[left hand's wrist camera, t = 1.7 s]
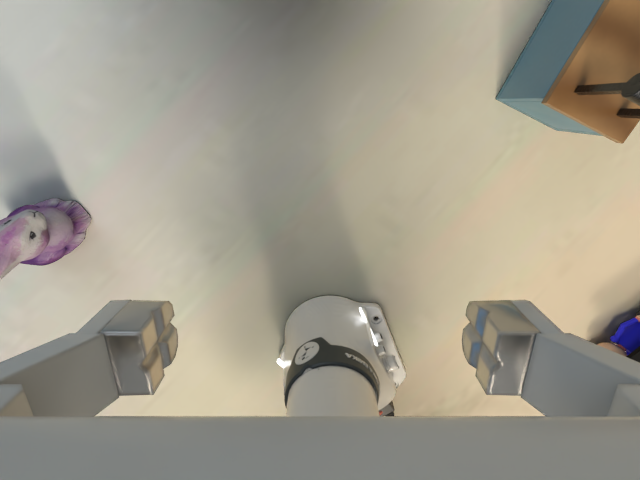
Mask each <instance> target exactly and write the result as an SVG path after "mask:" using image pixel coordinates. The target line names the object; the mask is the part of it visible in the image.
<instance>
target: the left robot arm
mask: <svg viewBox="0 0 640 480" xmlns="http://www.w3.org/2000/svg"><path fill="white" fill-rule="evenodd" d="M375 316H378V318H374V317H375ZM173 317H174V310H173V306H172V304H171V303H170V302H169V301H148V300H133V301H132V300H114V301H110V302H109V303H108V304H107V305H106V306H105V307H104V308H102V309H101V310H100V311H99V312H98V313H97V314H96V315H95V316H94V317H93V318H92V319H91V320H90V321H89V322H87V323H86V324H85V325H84V326H83V327H82V328H81V329H80V330H79V331H78V332H77V333H69V334H67V335H65V336H62V337H60V338H58V339H55V340H53V341H50V342H48V343H46V344H43V345H41V346H39V347H36V348H34V349H31V350H29V351H27V352H24V353H22V354H20V355H17V356H15V357H12V358H10V359H8V360H5V361H3V362H0V480H640V363H639V362H637V361H635V360H632V359H630V358H627V357H625V356H623V355H620V354H618V353H616V352H613V351H611V350H608V349H606V348H604V347H601V346H599V345H597V344H594V343H592V342H590V341H587V340H585V339H582V338H580V337H578V336H575V335H573V334H571V333H563V332H562V331H561V330H560V329H559V328H558V327H557V326H556V325H555V324H554V323H553V322H552V321H550V320H549V319H548V318H547V317H546V316H545V315H544V314H543V313H542V312H541V311H540V310H539V309H538V308H537V307H536V306H534V305H533V304H532V303H531V302H530V301H527V300H501V301H471V302H469V304H468V306H467V310H466V317H467V318H468V320H469V321H470V323H469V324H468V325H467V326H466V327H465V328H464V329H463V335H462V346H463V352H464V355H465V358H466V360H467V361H468V363H469V364H470V365H471V366H473V367H475V368H476V369H477V370H476V377H477V379H478V381H479V383H480V384H481V386H482V388H483V389H484V391H485V393H486V395H517V396H521V398H523V399H524V400H525V401H527V402H528V403H529V404H531V405H532V406H533V407H534V408H536V409H537V410H538V411H540V412H541V413H542V414H544V415H545V416H394V413H393V411H394V406H393V402H392V400H393V398H394V397H395V395H396V388H397V387H398V386H399V385H400V384H401V383H402V382H403V381H404V379H405V378H406V371H405V368H404V365H403V362H402V360H401V357H400V355H399V352H398V350H397V347H396V345H395V342H394V340H393V337H392V335H391V332H390V329H389V327H388V324H387V322H386V319H385V317H384V314H383V312H382V309H381V307H380V306H379V305H378V304H376V303H359V302H355V301H353V300H350V299H347V298H344V297H340V296H320V297H316V298H312V299H310V300H308V301H306V302H304V303H302V304H301V305H299V306H298V307H297V308H296V309H295V310H294V311H293V312H292V313H291V315H290V316H289V318H288V320H287V323H286V326H285V343H284V346H283V348H282V350H281V353H280V359H277V363H278V364H279V365H280V366H281V367H283V368H284V395H285V406H286V416H95V415H96V414H98V413H99V412H100V411H102V410H103V409H104V408H106V407H107V406H108V405H110V404H111V403H112V402H114V401H115V400H116V399H117V398H119V396H123V395H154V393H155V391H156V389H157V388H158V386H159V384H160V383H161V381H162V379H163V377H164V370H163V369H164V368H165V367H167V366H169V365H170V364H171V363H172V361H173V360H174V358H175V355H176V351H177V347H178V334H177V329H176V328H175V327H174V326H173V325H172V324H171V323H170V321H171V320H172V318H173Z"/></svg>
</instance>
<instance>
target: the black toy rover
mask: <svg viewBox="0 0 640 480" xmlns="http://www.w3.org/2000/svg"><path fill="white" fill-rule="evenodd" d="M610 340H611V341H612V342H614V343H616V344H618V345H615V344H612V343H599V344H597V345H599V346H601V347H604V348H606V349H608V350H611V351H613V352H616V353H618V354H620V355H623V356H625V357H627V358H630V359H632V360H635V361H637V362H639V363H640V310H639V311H638V312H637V315H636V317H635V318H632V319H630V320H628V321H626V322H624V323H621V324H620V326H619V328H618V330H617V331H616V333H615V335H614V336H611V337H610ZM625 351H626V352H625Z"/></svg>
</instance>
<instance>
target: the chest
mask: <svg viewBox="0 0 640 480" xmlns="http://www.w3.org/2000/svg"><path fill="white" fill-rule="evenodd" d="M603 2H604V0H552V1H551V3H550V5H549V6H548V8H547V10H546V12H545V13H544V15H543V17H542V19H541V20H540V22H539V24H538V26H537V27H536V29H535V31H534V33H533V34H532V36H531V38H530V40H529V41H528V43H527V45H526V47H525V48H524V50H523V52H522V54H521V55H520V57H519V59H518V61H517V62H516V64H515V66H514V68H513V69H512V71H511V73H510V74H509V76H508V78H507V80H506V81H505V83H504V85H503V87H502V88H501V90H500V92H499V94H498V95H497V97H496V100H498V101H500V102H502V103H504V104H506V105H508V106H510V107H512V108H514V109H516V110H518V111H520V112H522V113H523V114H525V115H527V116H529V117H531V118H533V119H535V120H537V121H539V122H541V123H543V124H545V125H547V126H549V127H551V128H553V129H555V130H558V131H566V132H575V133H583V134H592V135H600V136H603V135H601V134H599V133H597V132H595V131H593V130H591V129H589V128H587V127H586V126H584V125H582V124H580V123H578V122H576V121H574V120H572V119H570V118H568V117H566V116H565V115H563V114H561V113H559V112H557V111H555V110H553V109H551V108H549V107H547V106H545V105H544V104H542V103H541V102H542V101H543V99H544V97H545V96H546V94H547V92H548V91H549V89H550V88H551V86H552V84H553V83H554V81H555V80H556V78H557V76H558V75H559V73H560V71H561V70H562V68H563V67H564V65H565V63H566V62H567V60H568V58H569V57H570V55H571V54H572V52H573V50H574V49H575V47H576V46H577V44H578V42H579V41H580V39H581V37H582V36H583V34H584V33H585V31H586V29H587V28H588V26H589V24H590V23H591V21H592V20H593V18H594V16H595V15H596V13H597V12H598V10H599V8H600V7H601V5H602V3H603Z"/></svg>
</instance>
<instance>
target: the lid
mask: <svg viewBox="0 0 640 480" xmlns="http://www.w3.org/2000/svg"><path fill="white" fill-rule="evenodd" d="M541 103H542V104H544V105H545V106H547V107H549V108H551V109H553V110H555V111H557V112H559V113H561V114H563V115H565V116H566V117H568V118H570V119H572V120H574V121H576V122H578V123H580V124H582V125H584V126H586V127H587V128H589V129H591V130H593V131H595V132H597V133H599V134H601V135H603V136H605V137H607V138H608V139H610V140H612V141H614V142H616V143H624V141H625V140H626V138H627V137H628V136H629V134H630V133H631V132H632V130H633V129H634V127H635V126H636V125H637V123H638V122H639V120H640V0H604V2H603V3H602V5H601V7H600V8H599V10H598V12H597V13H596V15H595V16H594V18H593V20H592V21H591V23H590V24H589V26H588V28H587V29H586V31H585V33H584V34H583V36H582V37H581V39H580V41H579V42H578V44H577V46H576V47H575V49H574V50H573V52H572V54H571V55H570V57H569V58H568V60H567V62H566V63H565V65H564V67H563V68H562V70H561V71H560V73H559V75H558V76H557V78H556V80H555V81H554V83H553V84H552V86H551V88H550V89H549V91H548V92H547V94H546V96H545V97H544V99H543V101H542V102H541Z"/></svg>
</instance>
